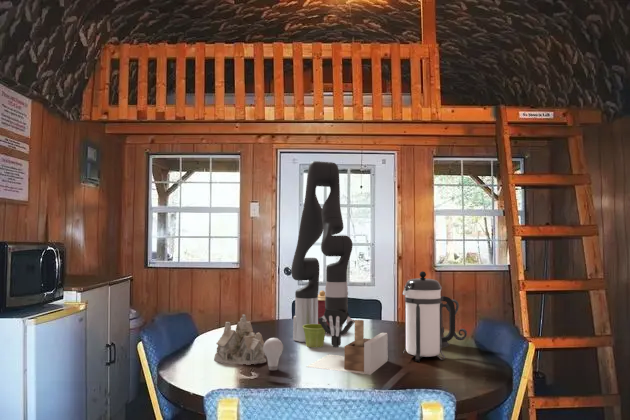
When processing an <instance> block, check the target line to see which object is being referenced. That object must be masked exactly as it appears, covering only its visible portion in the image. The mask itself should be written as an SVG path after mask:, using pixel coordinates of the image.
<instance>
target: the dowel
mask: <svg viewBox="0 0 630 420" xmlns="http://www.w3.org/2000/svg"><path fill="white" fill-rule="evenodd" d="M364 321H365V320H363V319H355V323H354V341H355V346H357V347H364V336H365V334H364V331H365V329H364V327H365V326H364V325H365V324H364Z"/></svg>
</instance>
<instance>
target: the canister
mask: <svg viewBox="0 0 630 420" xmlns="http://www.w3.org/2000/svg"><path fill="white" fill-rule="evenodd" d="M324 312H325V290H320V291H318V319H319V318H321V317H322V316H324ZM326 320H327V319H326ZM326 322H327V324H328V325H329V327H330V324H329V323H328V321H326ZM318 324H320V323H319V321H318Z"/></svg>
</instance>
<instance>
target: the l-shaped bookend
mask: <svg viewBox="0 0 630 420" xmlns="http://www.w3.org/2000/svg"><path fill="white" fill-rule="evenodd" d="M369 339H370V340H368V341H367V342H365V343H364V372H362V371H354V370H346V369H344V355H336V354H326V355H325V356H323V357H321V358H320V359H318V360H315V361H314V362H312V363H310V364H309V365H307V366H306V368H313V369H321V370H329V371H330V370H331V371H339V372H345V373H356V374H363V375H372V374H373V373H374V372H376V371H377V370H378V369H379V368H381V367H383V365H384V364H386V363H387V362H388V355H389V354H388V332H380V333H379V334H377V335H375V336H374V337H371V338H369Z"/></svg>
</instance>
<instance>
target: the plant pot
mask: <svg viewBox="0 0 630 420" xmlns="http://www.w3.org/2000/svg"><path fill="white" fill-rule="evenodd" d="M302 327H303V328H304V332H305V340H306V342H305V346H306V347H308V348H312V349H313V348H322V347H324V344H325V337H326V332H325V330H324V329H323V327H322V326H321V324H307V325H303V326H302Z"/></svg>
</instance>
